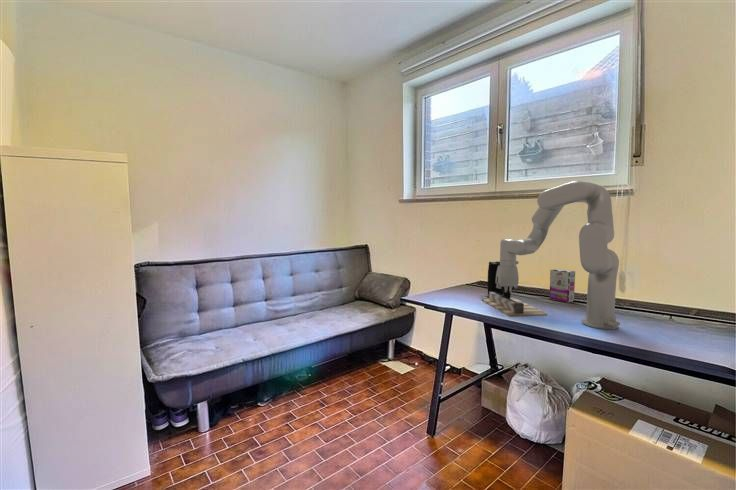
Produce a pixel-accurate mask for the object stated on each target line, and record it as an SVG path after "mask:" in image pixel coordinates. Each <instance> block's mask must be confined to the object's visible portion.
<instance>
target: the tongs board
mask: <svg viewBox="0 0 736 490" xmlns="http://www.w3.org/2000/svg"><path fill="white" fill-rule="evenodd" d="M510 299H512V300H514V301H516V302H518V303H514V302H512V301H510V300H508V299H506V298H504V297H502V296H500V295H498V294H495V293H493V292H489V296H488V298H481V301H482V302H484V303H486V304H487V305H489V306H491V307H492V308H493V309H496V310H497V311H499V312H501V313H502V314H504V315H506V316H507V317H532V316H533V317H534V316H535V317H536V316H537V317H538V316H539V317H540V316H543V317H544V316H548V312H546V311H543V310H542V309H539V308H538V307H535V306H533V305H530V304H529V303H527V302H524V301H522V300H520V299H518V298H515V297H510Z"/></svg>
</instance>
